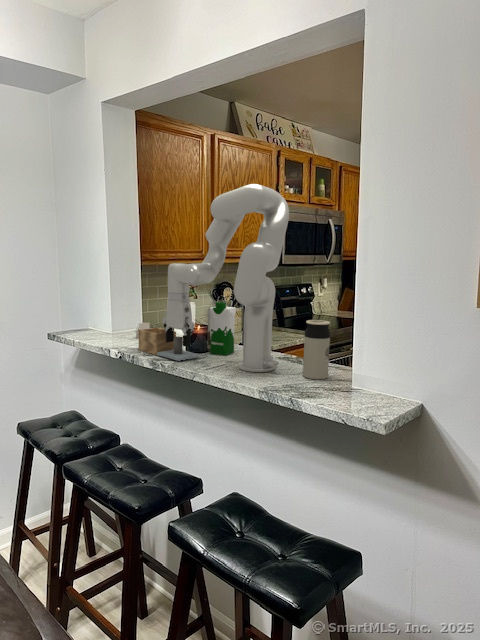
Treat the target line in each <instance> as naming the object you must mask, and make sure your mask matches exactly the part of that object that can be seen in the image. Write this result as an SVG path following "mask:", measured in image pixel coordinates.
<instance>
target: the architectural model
mask: <svg viewBox="0 0 480 640" xmlns="http://www.w3.org/2000/svg"><path fill="white" fill-rule="evenodd" d="M150 323H151V322H144V321H143V322H140V323H138V327H137V328H136V330H134V332H135V333H136V340H137V339H138V340H139V330H143V329H151V328H150V327H151V326H150V325H151V324H150Z"/></svg>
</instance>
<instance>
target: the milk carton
mask: <svg viewBox="0 0 480 640" xmlns="http://www.w3.org/2000/svg"><path fill="white" fill-rule="evenodd" d="M209 308H210V316H211V324H210V348H209V354H210V355H217V356H218V355H219V356H225V357H227V356H228V355H230V354H234V353H235V322H236V321H235V318H236V310H237V307H235V306H234V307H233V306H227V303H226V302H224V301H216V302H215V306H213V307H209Z"/></svg>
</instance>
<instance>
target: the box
mask: <svg viewBox="0 0 480 640" xmlns="http://www.w3.org/2000/svg"><path fill="white" fill-rule="evenodd" d="M173 331H174V330H173ZM174 337H177V331H174ZM140 350H141V352H144V351H145V353H147V354H151V353H152V355H156V356H158V355H157V352H162V351H168V350H174V341H173V342H166V331H165V328H161V327H154V328H153V327H152V328H150V329H143V330H139V339H138V351H140Z"/></svg>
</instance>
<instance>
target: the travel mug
mask: <svg viewBox="0 0 480 640" xmlns="http://www.w3.org/2000/svg"><path fill="white" fill-rule="evenodd" d="M305 323H306V326H307V327H306V329H305V331H304V342H303V345H304V346H303V363H302V365H303V366H302V376H303V377H305V379H309V380H314V381H315V380H316V381H317V380H325V379H327V378H329V363H330V361H329V360H330V345H331V343H330V342H331V331H330V329H329V326H330V324H331V322H330V321H329V320H328V321H327V320H321V319H308V320H306V322H305Z"/></svg>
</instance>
